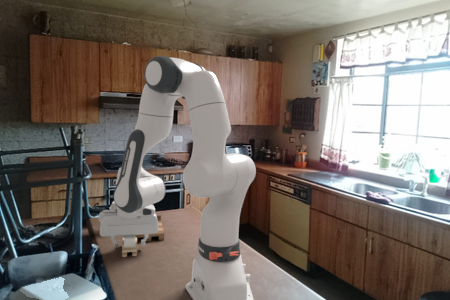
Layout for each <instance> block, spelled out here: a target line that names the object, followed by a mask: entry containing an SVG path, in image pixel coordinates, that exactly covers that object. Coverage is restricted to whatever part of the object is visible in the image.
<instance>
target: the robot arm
mask: <svg viewBox="0 0 450 300" xmlns="http://www.w3.org/2000/svg"><path fill="white" fill-rule="evenodd" d="M143 73H144V81H145V84H144V86H143V90H142V93H141V96H140V101H139V108H138V115H137V116H138V117H137V121H136V124H135V127H134V129H133V131H132V132H131V133H130V135H129V136H128V138H127V143H126V145H125V151H124V155H123V159H122V164H121V166H120V167H119V168H118V171H117V175H116V184H115V187H114V191H113V201H114V202H115V204H116V205H117V209H114V210H110V209H104V210H102V211H100V212H99V214H98V221H99V223H100V227H99V236H101V237H102V238H105V237H106V238H107V237H110V241H111V242H112V244H113V248H116V249H117V248H119V241H118V240H116V239H115V237H119V236H121V237H122V236H123V237H124V235H139V234H144V235H145V237H143V239H140V245H141V247H142V246H144V247H145V246H146V242H147V241H146V240H147V238H148V237H149V234H154V233H157V232H158V230H159V228H158V220H157V216H156V215H157V214H156V208H155V206H154V204H156V203H159V202H160V201H162V200H163V199H164V198H165V195H166V191H167V190H166V184H165V181H164V180H163V179H162V178H161V177H160V176H157V175H154V174H151V172H148V171H147V170H145V168H143V163H144V162H143V161H144V158H145V156H146V154H147V153H148V152H149V151H150V150H151V149H152V148H153V147H155V146H156V145H157V144H159V143H161V142H163V141H164V140H166V138H168V137H169V135H170V134H171V131H172V128H173V121H174V111H175V110H174V109H175V104H176V101H177V100H178V99H179V98H181V99H183V100H185V101H186V107H187V111H188V117H189V120H190V122H189V123H190V126H191V131H192V133H191V134H192V141H193V142H192V151H191V157H190V159H189V161H188V163H187V164H186V166H185V167H184V169H183V173H182V182H183V186H184V188H185V190H186V191H187V193H188V194H189V195H191V197H195V198H207V199H208V198H209V200H208V202H207V204H206V206H205V207H204V208H203V209H202V211H201V215H200V234H199V235H200V237H199V238H198V243H197V249H198V252H197V253H198V254H196V257H194V258H193V260H192V269H191V270H192V271H191V280H190V281H189V282H188V283H186V285H185V289H186V291H187V293H188V294H189V296H190V297H191V298H192V300H255V299H254V296H253V292H252V289H251V286H250V283H251V281H252V278H251V274H250V273H246V272H245V270H246V269H247V264H246V263H243V259H242V258H243V257H242V254H241V243H240V239H239V232H240V231H239V230H240V229H239V228H240V217H241V213H242V208H243V205H244V200H245V198H246V194H247V192H248V190H249V187H250V185H251V184H252V183H253V181H255V178H256V174H257V169H256V165H255V162H254V161H253V159H252V158H251V157H250V156H248V155H246V154H243V153H233V152H232V153H226V144H227V138H228V137H229V136H230V134H231V133H232V125H231V121H230V117H229V111H228V108H227V104H226V101H225V97H224V93H223V90H222V87H221V84H220V82H219V80H218V77H217V75H216V74H215V73H214V72H212V71H210V70H206V68H205V67H203V66H202V65H200V64H198V63H195V62H194V63H193V62H191V61H188V60H185V59H183V58H178V57H169V56H167V55H158V56H153V57H151V58H150V59H149V60H148V61H147V63H146V65H145V67H144V72H143Z"/></svg>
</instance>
